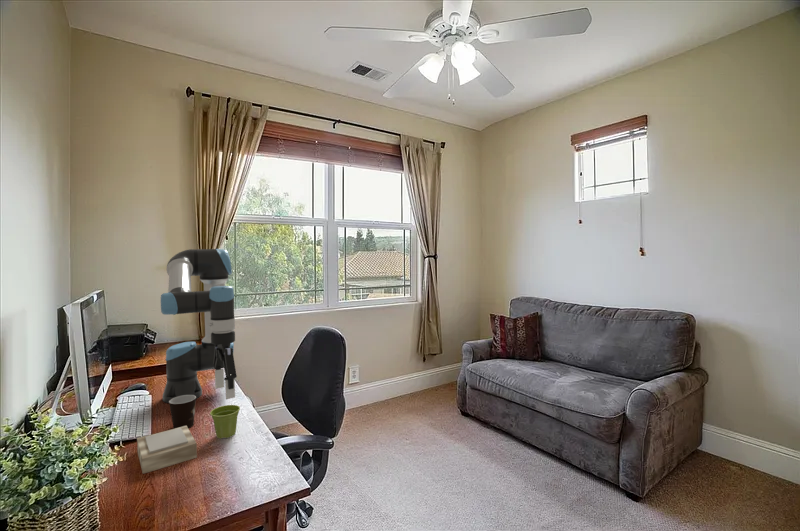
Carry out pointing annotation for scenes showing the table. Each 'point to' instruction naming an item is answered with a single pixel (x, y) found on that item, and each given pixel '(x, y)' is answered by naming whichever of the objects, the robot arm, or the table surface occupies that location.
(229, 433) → the plant pot
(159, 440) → the wooden stand
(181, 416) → the coffee mug
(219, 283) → the robot arm
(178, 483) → the table surface
